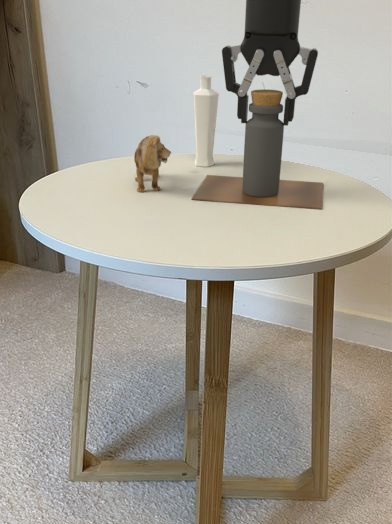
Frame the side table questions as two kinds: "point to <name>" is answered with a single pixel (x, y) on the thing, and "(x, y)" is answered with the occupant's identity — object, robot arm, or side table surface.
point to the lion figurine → (150, 160)
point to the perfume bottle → (205, 121)
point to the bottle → (263, 144)
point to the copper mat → (288, 196)
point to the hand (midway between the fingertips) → (265, 123)
